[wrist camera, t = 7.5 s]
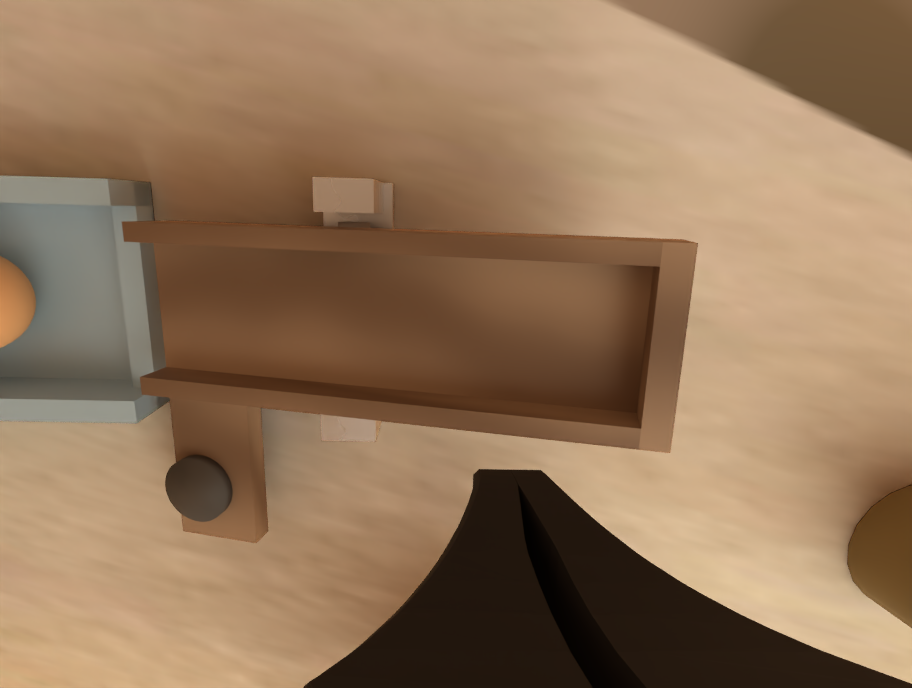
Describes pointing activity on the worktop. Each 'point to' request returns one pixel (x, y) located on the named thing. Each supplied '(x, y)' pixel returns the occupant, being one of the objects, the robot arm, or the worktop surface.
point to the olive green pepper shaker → (885, 554)
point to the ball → (14, 302)
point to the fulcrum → (337, 205)
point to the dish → (80, 301)
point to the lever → (405, 341)
